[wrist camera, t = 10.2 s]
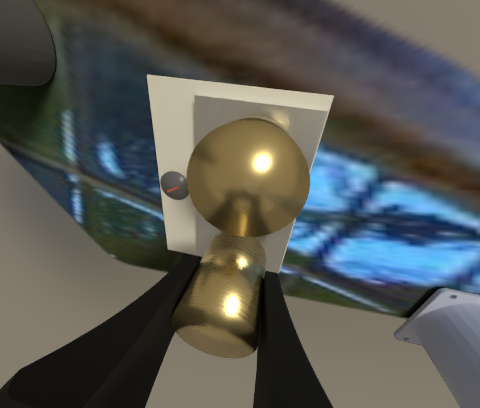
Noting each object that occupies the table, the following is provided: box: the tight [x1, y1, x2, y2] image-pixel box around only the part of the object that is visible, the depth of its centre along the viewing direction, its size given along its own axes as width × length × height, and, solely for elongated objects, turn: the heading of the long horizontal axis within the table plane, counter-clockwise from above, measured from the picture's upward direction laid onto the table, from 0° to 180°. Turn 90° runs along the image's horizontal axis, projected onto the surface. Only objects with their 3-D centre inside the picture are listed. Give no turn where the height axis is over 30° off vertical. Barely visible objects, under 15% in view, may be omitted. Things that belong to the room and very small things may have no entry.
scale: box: [147, 75, 334, 273], centre depth 14 cm, size 10×13×2 cm
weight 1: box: [187, 116, 310, 237], centre depth 8 cm, size 4×4×5 cm
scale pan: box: [194, 95, 328, 273], centre depth 12 cm, size 7×12×1 cm, turn 174°
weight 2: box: [171, 232, 266, 358], centre depth 10 cm, size 4×4×5 cm
